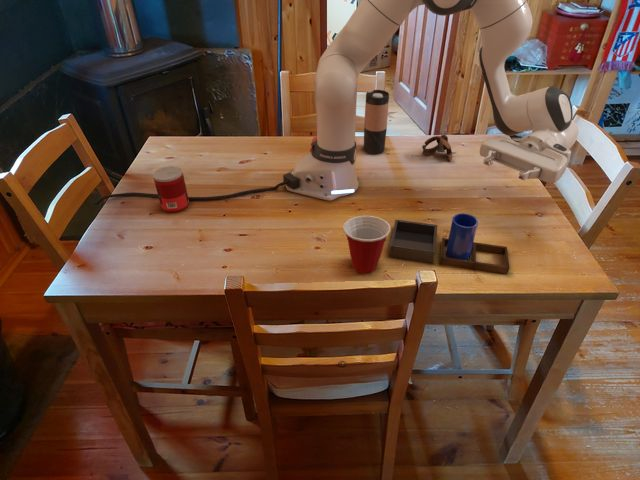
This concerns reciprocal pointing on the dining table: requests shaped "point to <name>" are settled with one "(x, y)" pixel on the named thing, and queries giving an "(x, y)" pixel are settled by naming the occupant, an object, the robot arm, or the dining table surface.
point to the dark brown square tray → (413, 241)
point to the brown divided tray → (473, 263)
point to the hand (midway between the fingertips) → (503, 169)
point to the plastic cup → (366, 241)
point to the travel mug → (375, 121)
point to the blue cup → (461, 236)
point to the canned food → (171, 189)
